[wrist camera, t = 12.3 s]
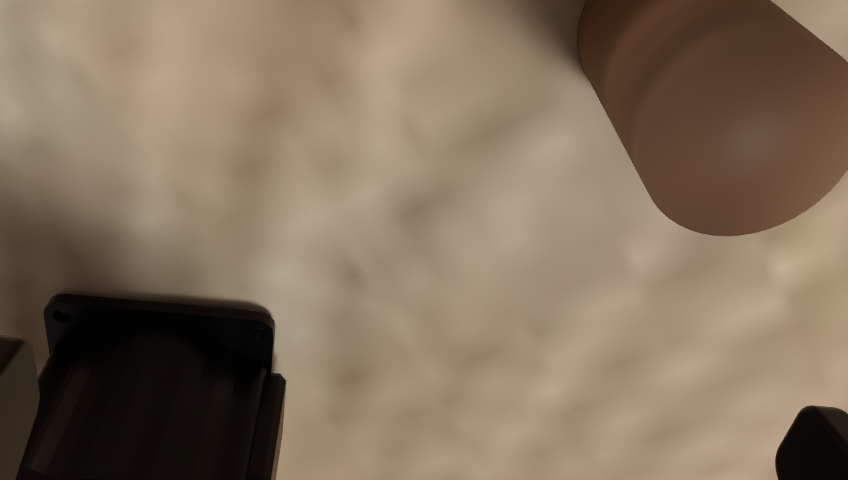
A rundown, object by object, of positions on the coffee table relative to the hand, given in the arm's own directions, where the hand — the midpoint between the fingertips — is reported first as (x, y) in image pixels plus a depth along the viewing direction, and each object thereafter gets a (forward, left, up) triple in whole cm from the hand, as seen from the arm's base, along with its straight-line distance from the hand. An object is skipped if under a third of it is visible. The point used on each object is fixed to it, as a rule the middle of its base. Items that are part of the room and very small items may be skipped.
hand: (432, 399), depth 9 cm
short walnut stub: (+6, +1, -12) cm, 13 cm away
